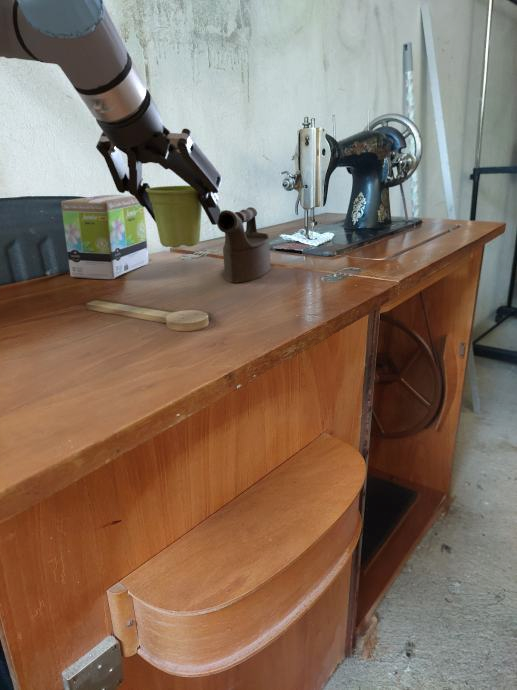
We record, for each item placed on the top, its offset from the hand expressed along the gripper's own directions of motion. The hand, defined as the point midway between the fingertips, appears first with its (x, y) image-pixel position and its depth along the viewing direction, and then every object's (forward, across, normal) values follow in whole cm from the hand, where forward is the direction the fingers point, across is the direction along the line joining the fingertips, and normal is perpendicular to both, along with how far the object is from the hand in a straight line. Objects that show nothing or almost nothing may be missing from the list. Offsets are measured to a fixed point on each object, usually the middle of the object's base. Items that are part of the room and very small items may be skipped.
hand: (187, 217), depth 84 cm
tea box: (+18, -25, 0) cm, 31 cm away
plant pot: (+1, 0, -5) cm, 5 cm away
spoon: (0, -2, -18) cm, 18 cm away
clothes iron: (+20, +3, +1) cm, 20 cm away
